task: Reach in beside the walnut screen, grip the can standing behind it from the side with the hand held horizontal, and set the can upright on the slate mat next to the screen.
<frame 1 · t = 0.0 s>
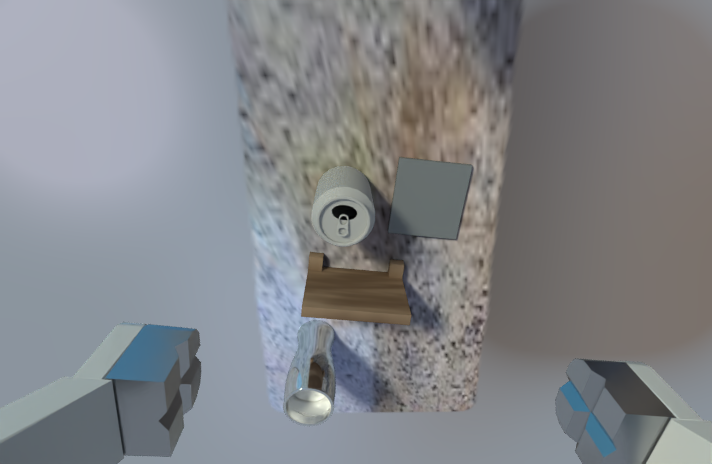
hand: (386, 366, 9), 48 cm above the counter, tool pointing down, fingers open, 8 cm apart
beer glass: (316, 334, 67), on the counter
can: (343, 190, 58), on the counter
slate mat: (428, 199, 58), on the counter
walnut screen: (354, 273, 63), on the counter
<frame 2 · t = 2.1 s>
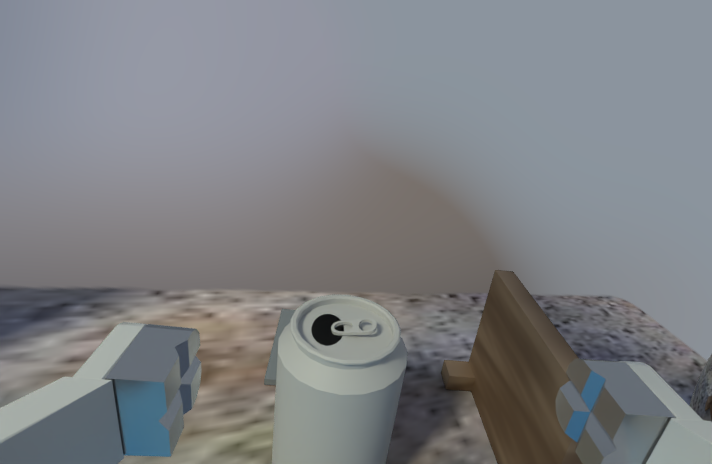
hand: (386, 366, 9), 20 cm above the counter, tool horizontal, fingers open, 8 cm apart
slate mat: (332, 349, 39), on the counter
walnut screen: (498, 441, 31), on the counter
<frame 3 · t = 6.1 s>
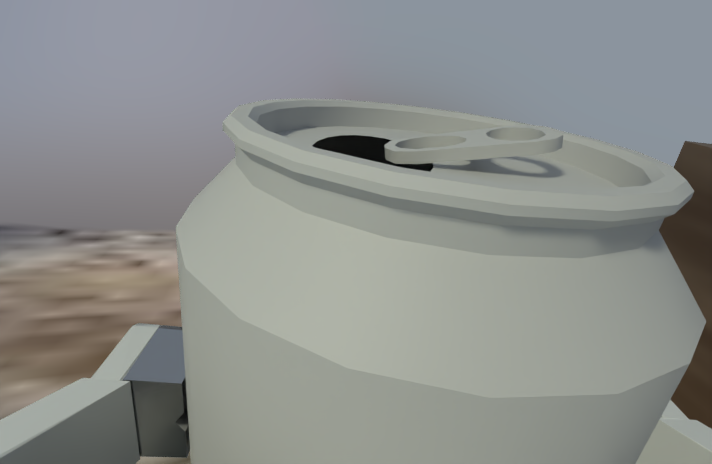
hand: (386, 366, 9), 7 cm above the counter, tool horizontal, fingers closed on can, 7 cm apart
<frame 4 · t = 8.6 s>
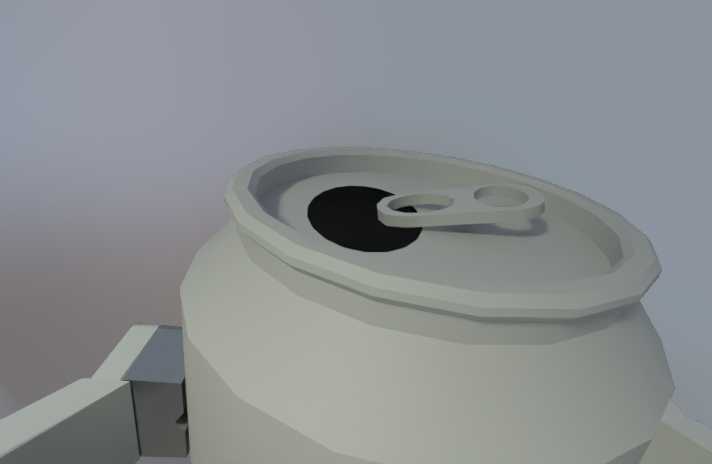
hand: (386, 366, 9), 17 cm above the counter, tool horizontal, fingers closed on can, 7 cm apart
when the fingers open (8 cm above the counter, at t = 11.5 s): can stays where it is, resting on slate mat.
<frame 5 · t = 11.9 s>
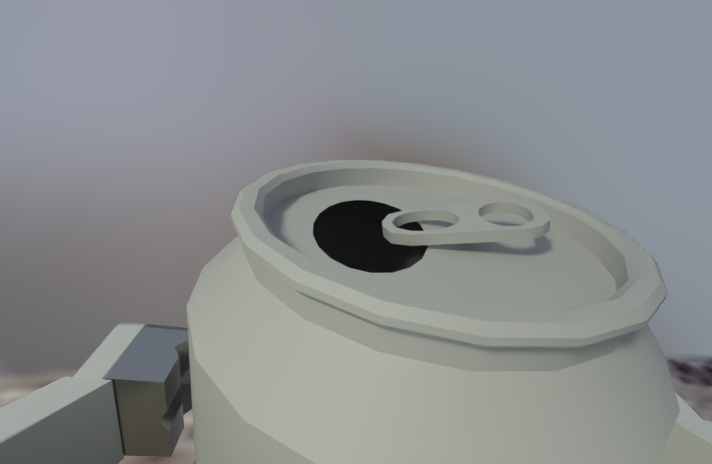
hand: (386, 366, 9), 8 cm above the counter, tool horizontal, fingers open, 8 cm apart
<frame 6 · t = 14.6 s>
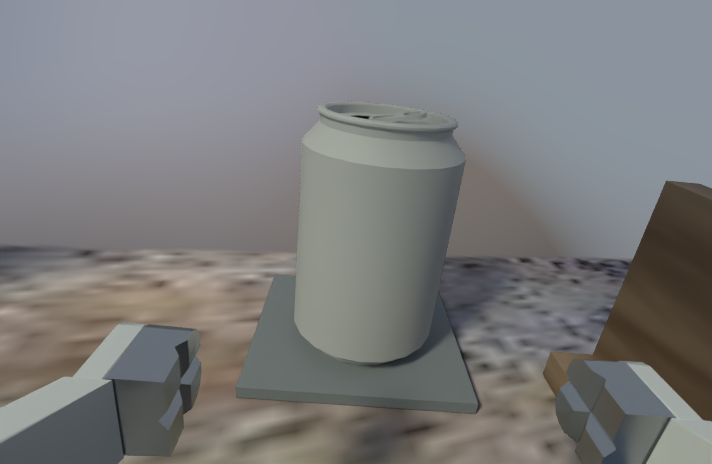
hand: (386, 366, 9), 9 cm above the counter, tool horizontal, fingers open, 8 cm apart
can: (360, 331, 23), resting on slate mat
slate mat: (356, 335, 23), on the counter
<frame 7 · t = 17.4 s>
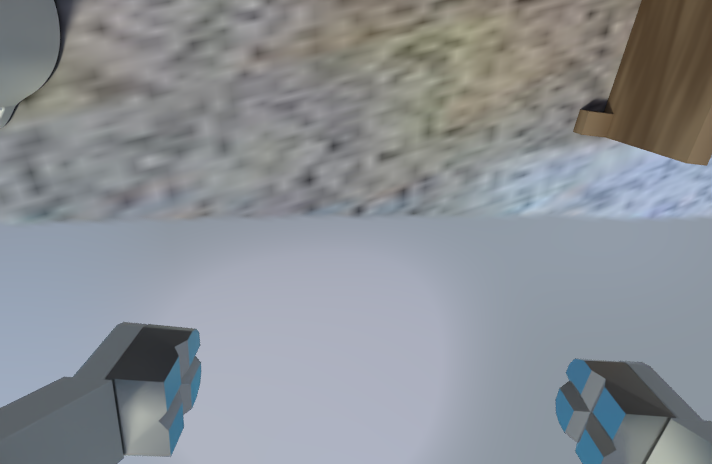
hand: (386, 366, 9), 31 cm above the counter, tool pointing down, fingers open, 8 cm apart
walnut screen: (632, 53, 36), on the counter
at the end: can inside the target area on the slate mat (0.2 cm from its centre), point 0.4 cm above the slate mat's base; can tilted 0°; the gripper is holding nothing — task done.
